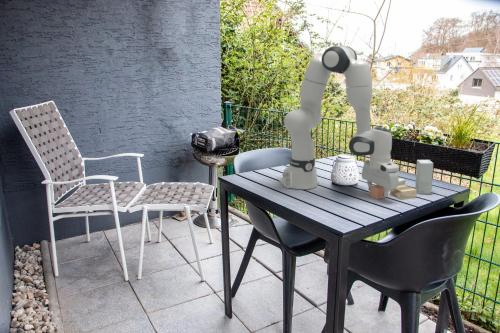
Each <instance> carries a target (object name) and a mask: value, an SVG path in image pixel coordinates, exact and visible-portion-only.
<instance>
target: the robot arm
mask: <svg viewBox="0 0 500 333" xmlns="http://www.w3.org/2000/svg"><path fill="white" fill-rule="evenodd" d="M357 55H358V54H357V53H356V51H355V50H354V49H353V48H352V47H350V46H347V45H346V46H345V45H333V46H329V47H327V49H325V50H324V52H323V53H322V55H316V56H313V57H312V58H311V59H310V61H309V63H308V66H307V67H306V70H305V72H304V75H303V80H302V82H301V85H300V90H299V94H298V95H299V97H300V107H299V108H297V109H293V110H291V111H290V112H288V113H286V115H285V117H284V119H283V124H284V128H286V130H287V131H288V134H289V136H290V141H291V157H290V158H289V161H290V162H289V165H288V166H287V167H286V168H285V169H284V170H283V172H282V177H280V178H278V181H279V183H280V184H281V185H282V186H283V187H285V188H286V189H296V190H311V189H315V188H317V186H318V185H319V181H318V174H317V173H318V171H317V168H316V158H315V142H314V140H313V139H312V136H311V130H313V129H315V128H317V127H318V126H319V125H320V124H321V123H322V120H323V114H322V112H321V111H322V102H323V101H322V100H323V97H324V94H325V91H326V87H327V84H328V81H329V78H330V75H331V74H332V73H335V74H336V73H337V74H340V75H341V74H343V75H344V77H345V91H346V92H345V93H346V98H347V102H348V104H349V105H350V106H351V107H352V108H353V110H354V113H355V121H356V122H355V123H356V132H355V134H354V136H353V137H352V138H351V139H350V140H349V141H348V142H349V143H348V150H349V152H350V153H351V154H352V155H354V156H355V157H364V156H369V160H368V159H367V160H365V161H364V162H363V166H362V169H361V179H362V180H364V181H366V184H367V187H368V191H370V186H372V185H373V184H374V185H380V186H383V187H385V192H383V196H384V197H386V198H388V196H389V194H390V190H391V189H396V188H397V187H398V180H399V173H398V171H399V170H400V166H399V165H398V164H396V163H395V162H394V161H392V159H391V158H392V155H391V151H392V146H393V136H392V132H391V130H389V129H388V128H386V127H379V126H376V127H373V128H372V127H371V126H372V125H371V111H370V110H371V104H372V97H373V78H372V76H373V75H372V71H371V67H370V66H371V65H370V64H369V62H368V61H365V60H363V59H358V56H357Z"/></svg>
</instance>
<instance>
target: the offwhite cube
mask: <svg viewBox="0 0 500 333" xmlns="http://www.w3.org/2000/svg"><path fill="white" fill-rule="evenodd" d="M401 185H406V178H405V179H404V178H399V180H398V186H401Z"/></svg>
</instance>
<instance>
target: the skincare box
mask: <svg viewBox="0 0 500 333" xmlns="http://www.w3.org/2000/svg"><path fill="white" fill-rule="evenodd" d="M415 170H416V171H415V173H416V174H415V188H414V189H416V190H417V193H418V194H420V195H423V194H424V195H432V188H433V171H434V162H432V161H431V159H417V160H416V169H415Z"/></svg>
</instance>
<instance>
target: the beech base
mask: <svg viewBox="0 0 500 333" xmlns="http://www.w3.org/2000/svg"><path fill="white" fill-rule="evenodd" d="M417 193H418V192H417V190H416V189H415V188H413V187H411V186H409V185H406V184H405V185H401V186H398V187H397V188H396V189H391V190H390V191H389V195H390V196H393V197H395V198H397V199H399V200H401V201H402V200H410V199H416V198H417V195H418V194H417Z"/></svg>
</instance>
